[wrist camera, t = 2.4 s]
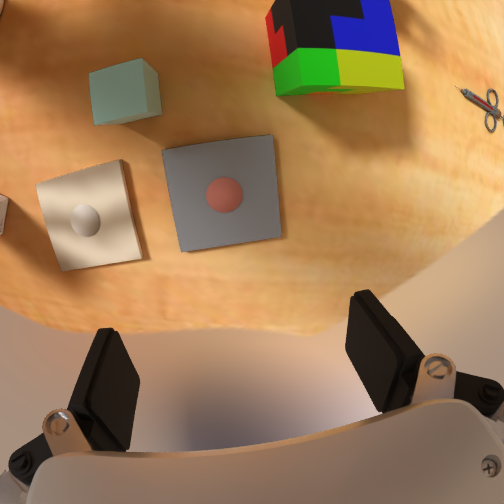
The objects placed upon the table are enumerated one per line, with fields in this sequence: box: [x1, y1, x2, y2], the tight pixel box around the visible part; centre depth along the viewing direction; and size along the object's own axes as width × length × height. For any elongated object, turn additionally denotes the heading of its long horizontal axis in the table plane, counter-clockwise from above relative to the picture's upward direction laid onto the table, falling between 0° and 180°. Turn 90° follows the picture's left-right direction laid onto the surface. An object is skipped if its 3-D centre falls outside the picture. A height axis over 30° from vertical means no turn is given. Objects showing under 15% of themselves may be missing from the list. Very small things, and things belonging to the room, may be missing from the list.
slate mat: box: [162, 135, 282, 252], centre depth 33 cm, size 12×12×1 cm
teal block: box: [88, 58, 163, 125], centre depth 24 cm, size 5×5×8 cm
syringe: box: [455, 86, 504, 131], centre depth 31 cm, size 8×18×2 cm, turn 83°
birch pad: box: [35, 159, 143, 272], centre depth 32 cm, size 12×12×1 cm
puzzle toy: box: [265, 0, 404, 96], centre depth 23 cm, size 10×10×10 cm
